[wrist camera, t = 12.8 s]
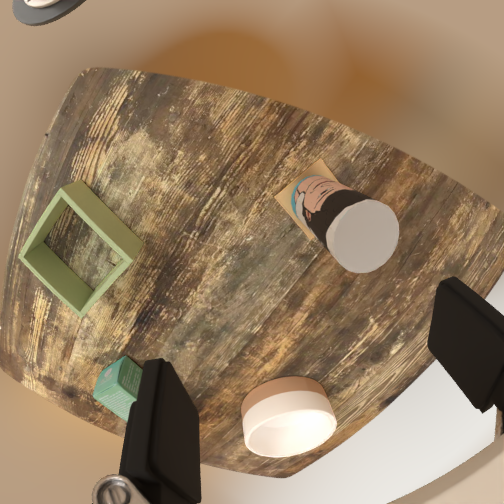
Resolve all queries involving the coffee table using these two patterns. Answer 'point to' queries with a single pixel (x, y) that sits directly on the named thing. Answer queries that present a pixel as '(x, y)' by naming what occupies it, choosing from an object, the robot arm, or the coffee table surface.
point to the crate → (55, 269)
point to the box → (119, 386)
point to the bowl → (287, 417)
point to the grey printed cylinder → (346, 222)
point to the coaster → (286, 193)
